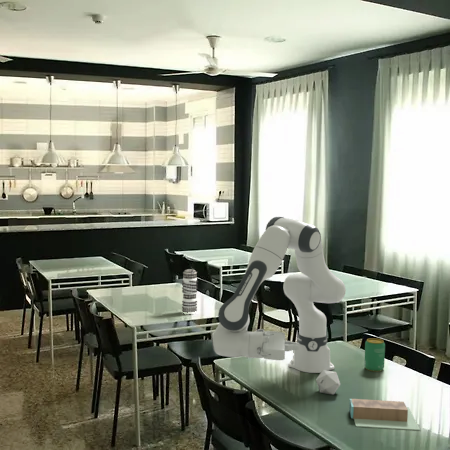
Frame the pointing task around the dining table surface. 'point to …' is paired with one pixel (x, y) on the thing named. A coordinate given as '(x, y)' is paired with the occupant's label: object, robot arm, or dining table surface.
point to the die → (328, 382)
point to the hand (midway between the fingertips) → (298, 346)
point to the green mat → (389, 423)
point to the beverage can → (374, 354)
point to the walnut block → (378, 410)
